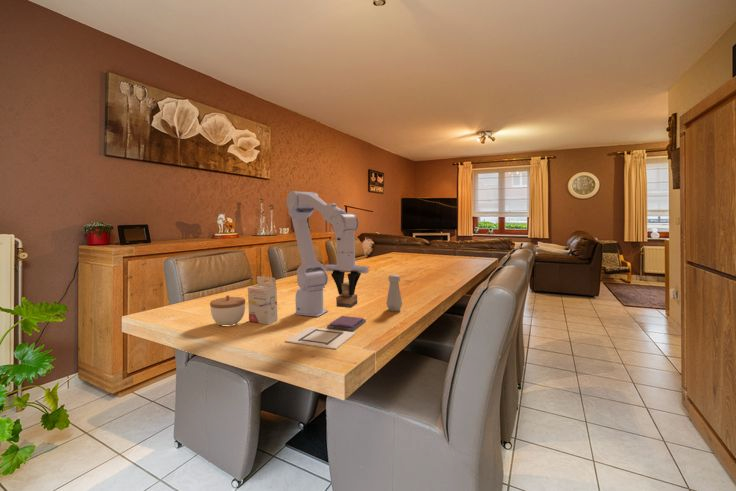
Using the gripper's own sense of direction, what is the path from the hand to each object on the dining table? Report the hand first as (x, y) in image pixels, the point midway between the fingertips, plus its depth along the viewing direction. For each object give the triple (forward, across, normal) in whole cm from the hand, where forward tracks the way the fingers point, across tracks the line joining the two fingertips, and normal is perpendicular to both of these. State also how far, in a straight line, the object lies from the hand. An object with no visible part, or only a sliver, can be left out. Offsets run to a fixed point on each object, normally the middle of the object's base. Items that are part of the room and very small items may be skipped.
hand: (346, 294), depth 112 cm
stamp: (+3, 0, 0) cm, 4 cm away
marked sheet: (+10, +2, +13) cm, 16 cm away
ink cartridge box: (+10, +28, +6) cm, 30 cm away
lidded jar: (+10, +37, +12) cm, 40 cm away
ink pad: (+10, 0, 0) cm, 10 cm away
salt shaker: (+10, -9, -22) cm, 26 cm away
